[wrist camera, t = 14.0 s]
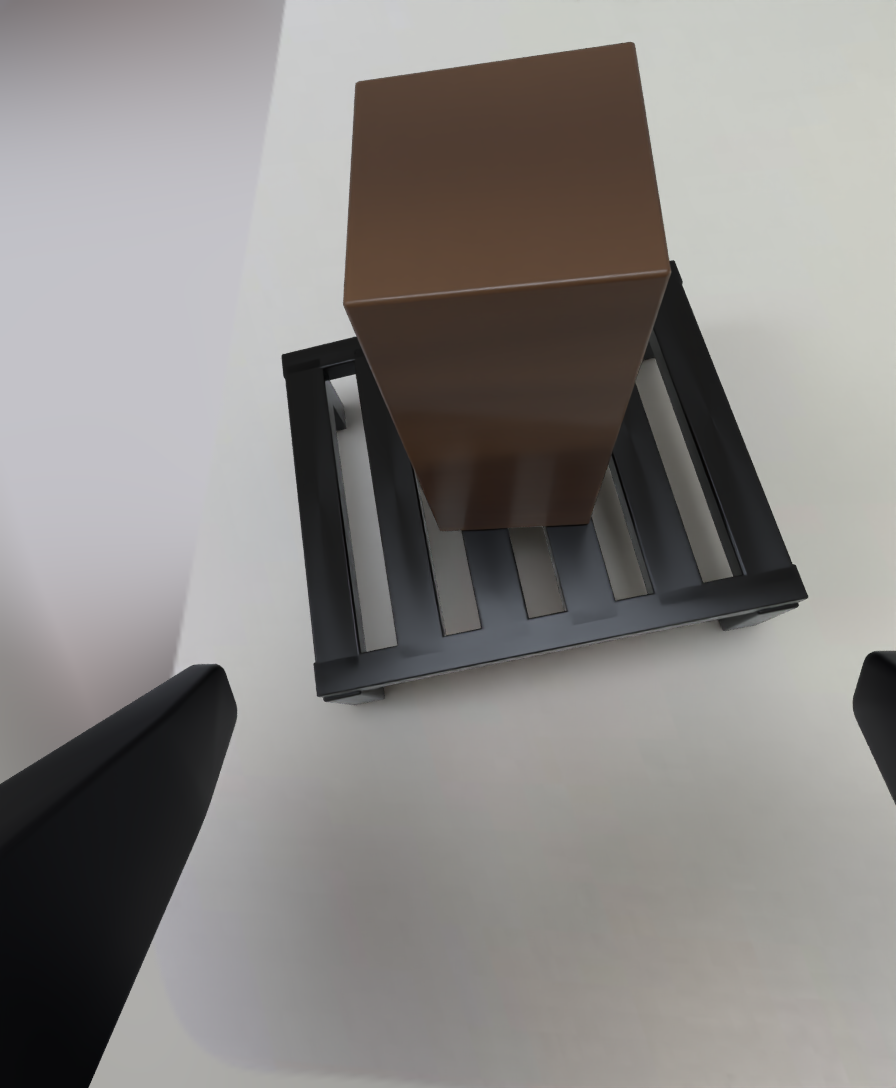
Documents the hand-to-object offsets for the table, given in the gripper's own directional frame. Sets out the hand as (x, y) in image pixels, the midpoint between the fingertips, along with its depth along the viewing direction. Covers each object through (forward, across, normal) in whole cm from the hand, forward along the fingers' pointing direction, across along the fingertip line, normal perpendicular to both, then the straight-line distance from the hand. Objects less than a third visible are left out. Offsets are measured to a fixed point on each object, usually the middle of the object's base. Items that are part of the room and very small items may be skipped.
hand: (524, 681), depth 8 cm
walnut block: (+11, 0, 0) cm, 11 cm away
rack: (+14, 0, +3) cm, 14 cm away
